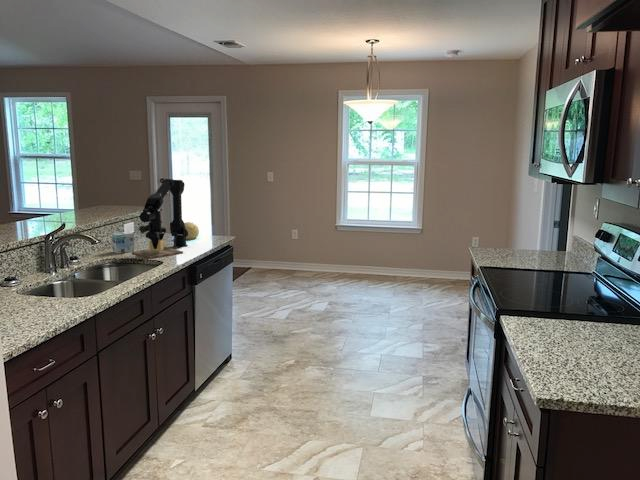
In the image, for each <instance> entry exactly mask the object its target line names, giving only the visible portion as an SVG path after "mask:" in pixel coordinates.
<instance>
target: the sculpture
mask: <svg viewBox="0 0 640 480" xmlns="http://www.w3.org/2000/svg"><path fill="white" fill-rule="evenodd" d="M184 223H185V228H186V229H187V231H188V236H186V240H193V239H197V237H198V236H199V232H200V229H199V226H197V224H195V223H194V222H189V221H188V222H184Z"/></svg>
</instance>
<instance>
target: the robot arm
mask: <svg viewBox="0 0 640 480" xmlns="http://www.w3.org/2000/svg"><path fill="white" fill-rule="evenodd" d="M184 189H185V182H184V180H183V179H174V178H173V179H172V178H164V179H163V183H162V184H161V185H160V187H158V189H157V190H156V191H155V192H154V193H153V194H151V195H149V196H148V198H147V199H146V202H145V205H144V207H143V209H142V212H141V213H140V214H139V219H140V221H141V222H143V223H148V224H147V225H145V224H143V225H142V224H141V225H139V228H138V229H139V230H138V231H139V232H140V233H141V234H144V233H146V234H145V238H147V239H149V241H152V244H153V247H154V249H156V248H157V245H158V242H159V240H164V239H163V238H164V236H165V234H166V232H167V228H166V227H164V226H163V227H162V223H163V221H162V217H161V216H162V213H161V212H162V211H163V209H162V205H163V203H164V198H165V197H166V195H167V194H168V192H170V194H171V196H172V216H173V217H172V219H173V220H172V221H171V222H169V231H170V235H171V237H173V240H172V241H173V245H172V246H173V247H175V248H182V247H188V246H189V245H188V244H187V239H186V236H188V231H187V229H186V228H185V223H186V222H184V220H183V216H182V214H183V213H182V212H183V210H182V195H183V193H184V191H185V190H184Z"/></svg>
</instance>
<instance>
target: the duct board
mask: <svg viewBox="0 0 640 480" xmlns="http://www.w3.org/2000/svg"><path fill="white" fill-rule="evenodd" d="M131 254H132V255H136V256H140V257H143V258H147V259H151V260H152V259H158V258H163V257H169V256H170V257H171V256H175V255H181V254H184V251H183V250H180V249H175V248H171V247H167V246H164V249H162V250H161V253H159V254H153V251H150V248H148V249H147V248H146V249H141V250H140V249H139V250H135V251H133V252H132V253H131Z"/></svg>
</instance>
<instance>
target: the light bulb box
mask: <svg viewBox="0 0 640 480" xmlns="http://www.w3.org/2000/svg"><path fill="white" fill-rule="evenodd" d="M111 241H112V242H111V243H112V253H115V254H125V253H131V252H133V251H136V249H135V248H136V247H135V233H134V232H132V231H124V232H123V231H121V232H113V233H111Z"/></svg>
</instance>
